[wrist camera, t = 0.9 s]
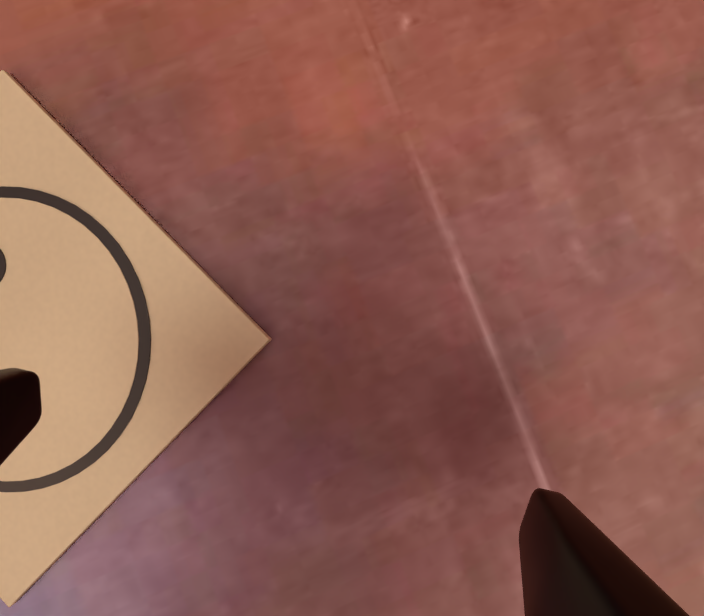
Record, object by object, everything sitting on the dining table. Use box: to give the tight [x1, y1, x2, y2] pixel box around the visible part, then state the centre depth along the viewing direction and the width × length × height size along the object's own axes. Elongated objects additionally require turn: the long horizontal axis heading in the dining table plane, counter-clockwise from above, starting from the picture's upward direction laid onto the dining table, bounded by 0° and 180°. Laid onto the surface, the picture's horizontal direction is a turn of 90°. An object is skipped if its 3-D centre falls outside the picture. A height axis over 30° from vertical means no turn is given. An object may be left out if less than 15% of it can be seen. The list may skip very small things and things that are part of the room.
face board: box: [0, 70, 271, 607], centre depth 25 cm, size 20×20×1 cm
